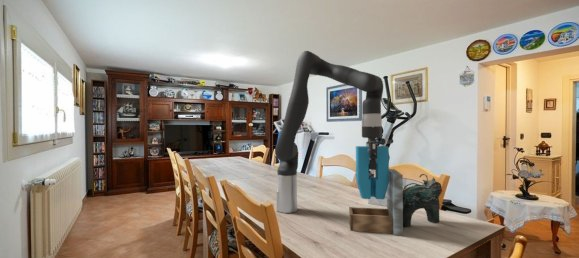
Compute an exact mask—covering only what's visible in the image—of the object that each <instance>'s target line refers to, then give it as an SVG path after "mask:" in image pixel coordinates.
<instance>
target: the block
mask: <svg viewBox="0 0 579 258" xmlns="http://www.w3.org/2000/svg"><path fill="white" fill-rule="evenodd" d="M368 149H369V151H370V147H367V146H366V145H363V146H361V145H356V146H355V181H356V185H357V189H358V192H359V194H360V198H361V199H364V200H368V199H371V197H375V198H376V199H384V198H385V195H386V191H387V187H388V184H389V169H390V158H389V157H390V153H389V150H390V146H386V145H385V146H382V145H378V146H377V159H376V170H374V171H375V176H373V177H372V176H369V175H370V173H369V170H370V168H369V164H370V159H369V154H368ZM372 156H375V154H372Z"/></svg>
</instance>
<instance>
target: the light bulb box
mask: <svg viewBox="0 0 579 258" xmlns="http://www.w3.org/2000/svg"><path fill="white" fill-rule="evenodd" d="M367 204H369V205H376V206H382V207H383V206H384V207H387V191H386V195H385V198H384V199H376V198H375V197H371V199H367Z"/></svg>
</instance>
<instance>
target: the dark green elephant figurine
mask: <svg viewBox="0 0 579 258" xmlns="http://www.w3.org/2000/svg"><path fill="white" fill-rule="evenodd" d="M422 176H425V177H426V180H425V179H422V181H423V183H422V184H418V183H415V182H412V183H408V184H407V185H405V186H403V228H409V227H411V226H412V224H411V223H412V217H413V215H414V213H415V212H416V211H417V210H420V209H424V211H425V214H426V217H427V221H428V222H430V223H432V224H435V223H439V222H440V206H441V204H440V196H441V194H442V192H443V187H442V184H441V183H440V182H439V181H437V180H436V179H435V177H432V178H431V180H429V179H428V176H427V174H425V173H421V174H420V175H419V178H422ZM408 186H409V187H408Z"/></svg>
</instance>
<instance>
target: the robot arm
mask: <svg viewBox="0 0 579 258" xmlns="http://www.w3.org/2000/svg"><path fill="white" fill-rule="evenodd" d="M310 75H313V76H319V77H325V78H329V79H331V80H333V81H336V82H338V83H340V84H343V85H346V86H349V87H353V88H355V89H358V90H360V91H362V92H365V99H364V100H363V101H362V106H361V107H362V109H361V113H362V114H361V137H362V138H363V139H364V138H367V141H366V143H365V146H367V147H370V151H369V149H368V154H369V159H370V164H369V170H370V171H375V170H376V159H377V146H379V145H378V142H377V138H378V139H379V138H380V139H381V138H382V136H383V132H382V131H383V129H382V128H383V127H382V125H383V124H382V122H383V120H382V103H381V102H382V99H383V92H384V83H383V82H384V81H383V79H382V78H381V77H380V76H378V75H376V74H373V73H370V72H365V71H361V70H359V69H356V68H352V67H349V66H346V65H341V64H334V63H330V62H328V61H326V60H325V59H323V58H321V57H320V56H319V55H317V54H315V53H313V52H312V51H309V50H304V51H302V52H301V53H300V55H299V56H298V58H297V61H296V66H295V73H294V79H293V83H292V87H291V88H292V89H291V93H290V95H289V96H290V97H289V99H288V103H287V107H286V111H285V116H284V119H283V123H282V128H281V132H280V135H279V137H278V139H277V143H276V146H275V149H274V153H275V156H276V159H278V160H279V166H277V174H276V175H277V190H276V212H280V213H284V214H291V213H292V214H293V213H296V212H297V211H298V185H297V184H298V181H297V179H298V176H297V175H298V172H297V171H298V167H299V148H298V145H297V143H295V140H296V137H297V134H298V132H299V130H300V127H301V125H302V124H303V122H304V119H305V117H306V115H307V112H308V107H309V90H308V89H309V88H308V82H309V79H310ZM372 154H375V156H372Z"/></svg>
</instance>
